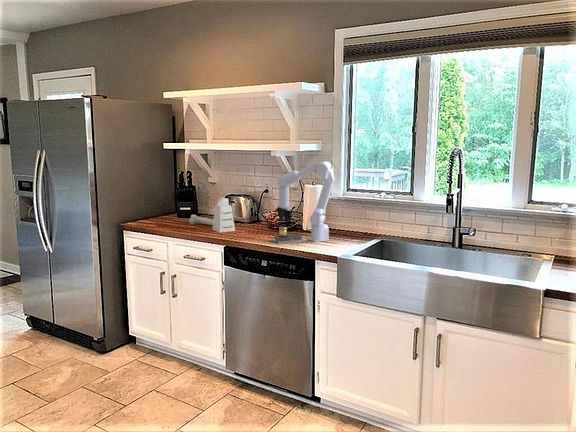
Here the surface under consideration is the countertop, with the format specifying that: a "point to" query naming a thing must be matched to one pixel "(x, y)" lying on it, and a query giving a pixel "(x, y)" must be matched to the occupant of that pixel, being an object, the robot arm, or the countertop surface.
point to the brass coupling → (282, 232)
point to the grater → (223, 216)
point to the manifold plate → (289, 239)
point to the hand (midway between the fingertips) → (283, 221)
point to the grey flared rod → (200, 220)
